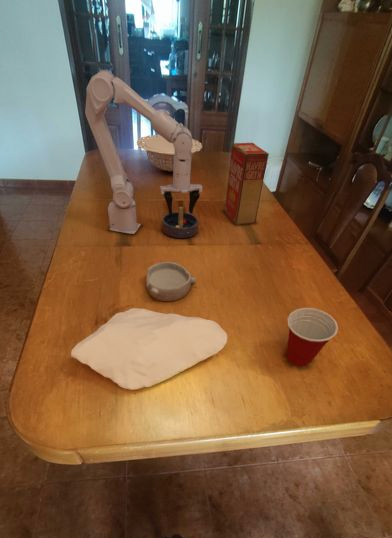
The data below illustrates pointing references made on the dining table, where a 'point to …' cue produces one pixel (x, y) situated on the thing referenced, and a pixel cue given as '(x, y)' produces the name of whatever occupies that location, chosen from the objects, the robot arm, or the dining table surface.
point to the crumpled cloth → (148, 346)
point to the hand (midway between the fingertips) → (180, 213)
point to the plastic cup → (308, 334)
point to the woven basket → (162, 150)
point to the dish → (168, 281)
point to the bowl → (172, 221)
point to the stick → (180, 217)
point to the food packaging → (245, 182)
